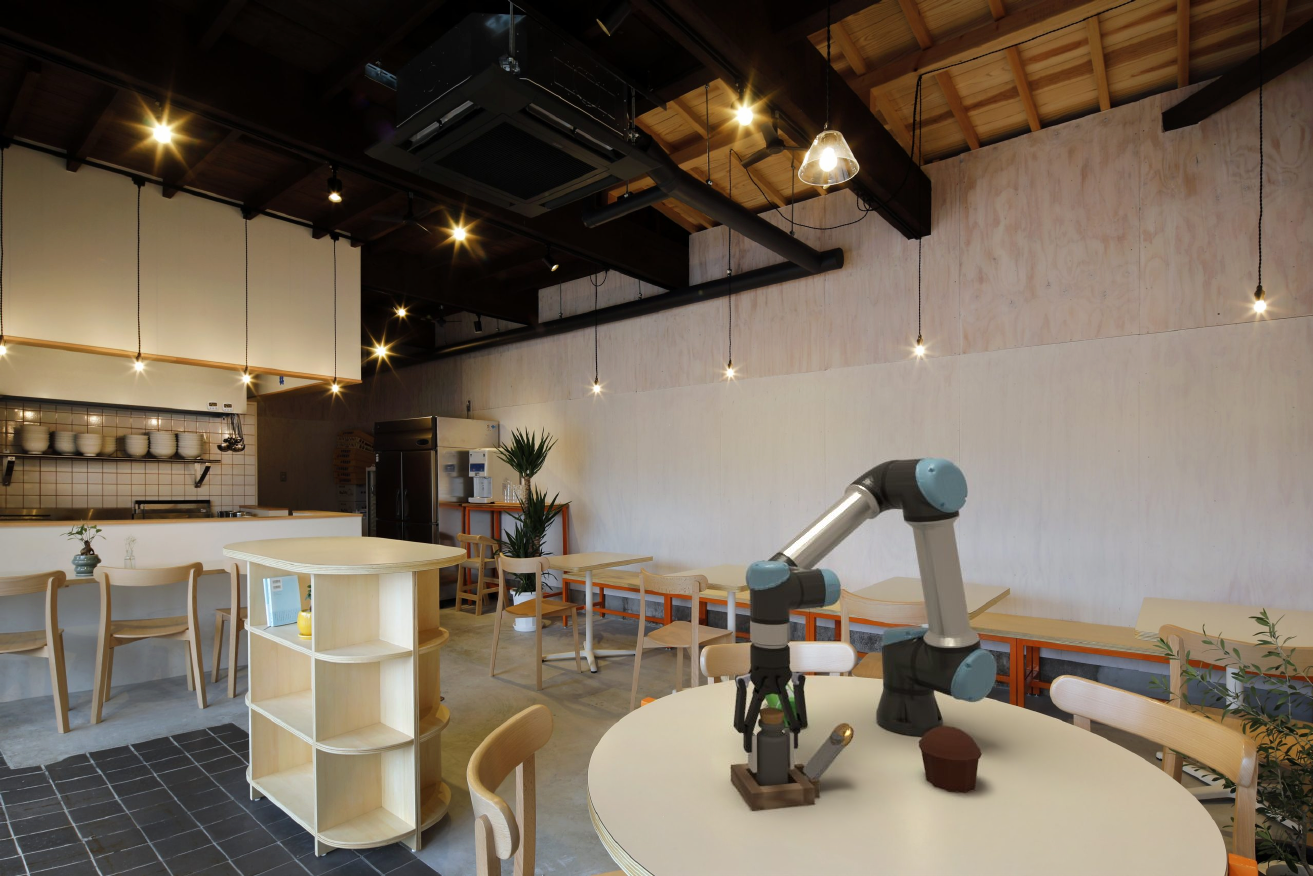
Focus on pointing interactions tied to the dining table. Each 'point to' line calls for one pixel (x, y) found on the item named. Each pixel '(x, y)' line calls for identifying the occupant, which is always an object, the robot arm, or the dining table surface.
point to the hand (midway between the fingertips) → (771, 767)
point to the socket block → (775, 789)
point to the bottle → (771, 748)
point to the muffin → (950, 759)
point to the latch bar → (828, 751)
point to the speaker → (775, 703)
